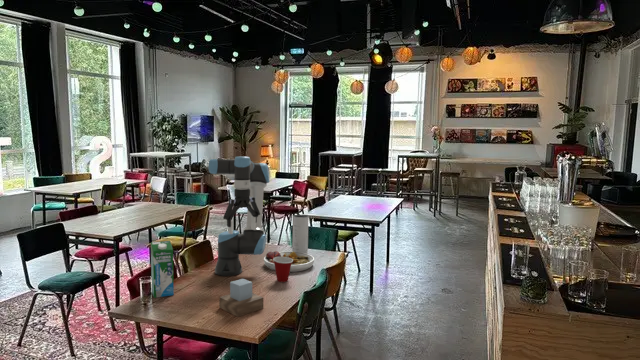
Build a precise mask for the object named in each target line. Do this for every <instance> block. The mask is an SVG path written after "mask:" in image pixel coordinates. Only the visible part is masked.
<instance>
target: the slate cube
mask: <svg viewBox="0 0 640 360" xmlns="http://www.w3.org/2000/svg"><path fill="white" fill-rule="evenodd" d="M229 290H230V291H229V294H230V297H231V298H233V299H236V300H238V301H242V300H245V299H249V298H252V293H253V282H252V281H251V280H250V281H249V280H248V279H245V278H240V279H237V280H233V281H230V282H229Z"/></svg>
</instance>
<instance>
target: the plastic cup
mask: <svg viewBox="0 0 640 360" xmlns="http://www.w3.org/2000/svg"><path fill="white" fill-rule="evenodd" d="M273 260H274V264H275V270H276V271H275V270H274V271H275V275H276V280H277V282H279V283H285V282H288V281H289V276H290V273H291V272H290V267H291V264H292V262H293V259H291V258H288V257H275V258H273Z"/></svg>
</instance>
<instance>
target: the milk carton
mask: <svg viewBox="0 0 640 360" xmlns="http://www.w3.org/2000/svg"><path fill="white" fill-rule="evenodd" d="M150 269H151V272H150V273H151V277H150V279H151V278H152V284H151V294H152V296H153V299H156V298H162V297H168V296H169V297H170V296H174V293H175V290H174V287H175V286H174V284H175V283H174V249H173V245H172V242H171V240H165V241H152V242H150Z"/></svg>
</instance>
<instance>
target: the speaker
mask: <svg viewBox="0 0 640 360" xmlns="http://www.w3.org/2000/svg"><path fill="white" fill-rule="evenodd" d="M309 219H310V217H309V215H307V214H293V216H292V244H291V245H292V246H291V247H292V249H291V250H292V251H291V252H300V253H306V254H309V248H308V247H309Z"/></svg>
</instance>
